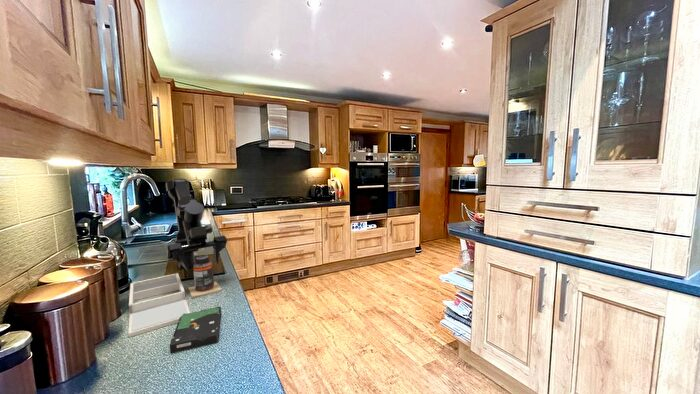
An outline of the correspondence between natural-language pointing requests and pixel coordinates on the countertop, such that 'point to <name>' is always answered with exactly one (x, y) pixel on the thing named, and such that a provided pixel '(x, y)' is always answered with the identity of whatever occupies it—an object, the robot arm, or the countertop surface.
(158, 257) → the countertop surface
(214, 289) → the cork mat
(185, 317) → the disk drive
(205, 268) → the supplement bottle
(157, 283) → the equipment case
